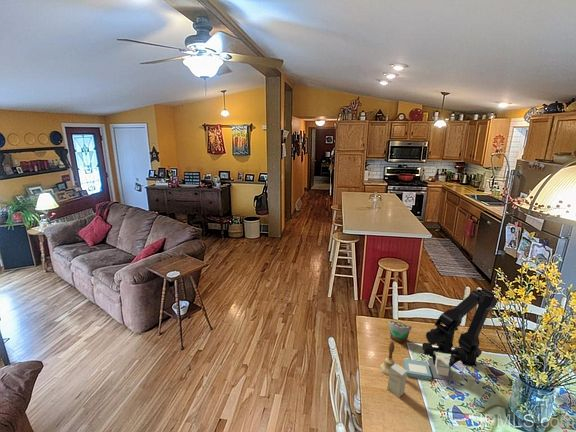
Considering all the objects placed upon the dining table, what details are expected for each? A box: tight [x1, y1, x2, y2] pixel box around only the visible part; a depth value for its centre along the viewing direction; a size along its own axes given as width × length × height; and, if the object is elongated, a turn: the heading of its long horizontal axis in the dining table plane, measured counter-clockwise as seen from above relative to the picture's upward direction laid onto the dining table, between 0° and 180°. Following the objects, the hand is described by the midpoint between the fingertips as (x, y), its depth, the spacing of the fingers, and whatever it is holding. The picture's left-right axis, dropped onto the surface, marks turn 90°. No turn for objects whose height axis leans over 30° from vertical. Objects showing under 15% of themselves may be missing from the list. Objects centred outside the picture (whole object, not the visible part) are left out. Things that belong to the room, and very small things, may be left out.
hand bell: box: [379, 340, 396, 376], centre depth 149 cm, size 8×8×16 cm
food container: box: [388, 319, 413, 344], centre depth 171 cm, size 12×6×10 cm, turn 62°
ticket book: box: [403, 357, 433, 381], centre depth 150 cm, size 11×10×2 cm
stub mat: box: [427, 359, 456, 383], centre depth 150 cm, size 10×12×1 cm
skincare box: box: [387, 362, 408, 398], centre depth 137 cm, size 6×4×12 cm
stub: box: [435, 354, 451, 376], centre depth 149 cm, size 4×7×6 cm, turn 167°
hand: (441, 365), depth 150 cm, fingers open, 7 cm apart
